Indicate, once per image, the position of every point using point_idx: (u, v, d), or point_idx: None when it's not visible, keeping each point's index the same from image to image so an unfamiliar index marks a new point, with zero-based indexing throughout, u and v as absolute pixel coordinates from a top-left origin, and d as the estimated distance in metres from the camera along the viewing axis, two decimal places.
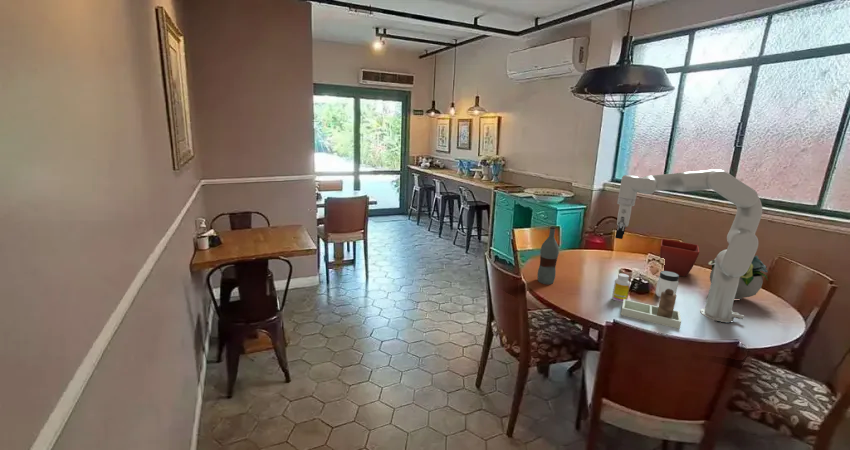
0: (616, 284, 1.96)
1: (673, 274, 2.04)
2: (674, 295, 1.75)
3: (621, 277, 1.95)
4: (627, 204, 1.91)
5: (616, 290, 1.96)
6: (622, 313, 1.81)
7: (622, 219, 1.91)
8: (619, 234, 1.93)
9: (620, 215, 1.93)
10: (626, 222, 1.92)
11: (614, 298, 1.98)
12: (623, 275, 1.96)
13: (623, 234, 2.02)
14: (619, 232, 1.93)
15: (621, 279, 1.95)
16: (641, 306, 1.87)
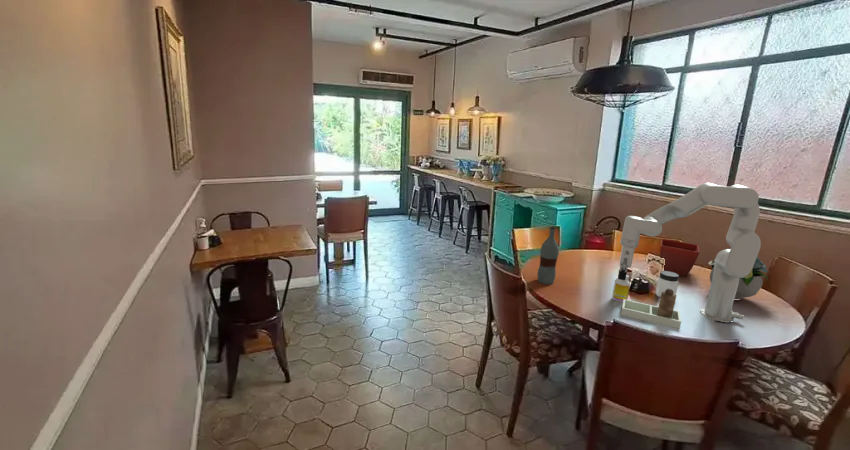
0: (616, 284, 1.96)
1: (673, 274, 2.04)
2: (674, 295, 1.75)
3: None
4: (630, 246, 1.89)
5: (616, 290, 1.97)
6: (622, 313, 1.81)
7: (625, 261, 1.89)
8: (622, 275, 1.91)
9: (623, 256, 1.90)
10: (629, 264, 1.89)
11: (614, 298, 1.98)
12: None
13: None
14: (622, 273, 1.91)
15: None
16: (641, 306, 1.87)
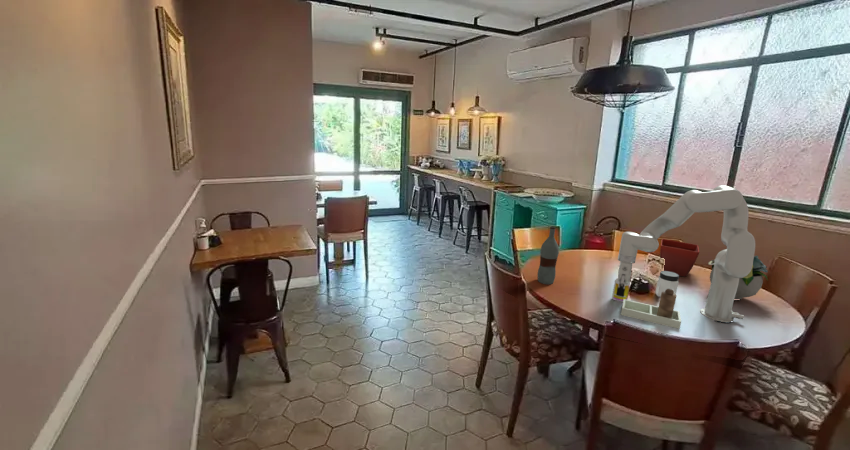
0: (616, 284, 1.96)
1: (673, 274, 2.04)
2: (674, 295, 1.75)
3: None
4: (628, 261, 1.91)
5: (616, 290, 1.96)
6: (622, 313, 1.81)
7: (623, 278, 1.91)
8: (620, 292, 1.94)
9: (621, 272, 1.92)
10: (627, 279, 1.91)
11: (614, 298, 1.98)
12: None
13: None
14: (620, 290, 1.94)
15: None
16: (641, 306, 1.87)
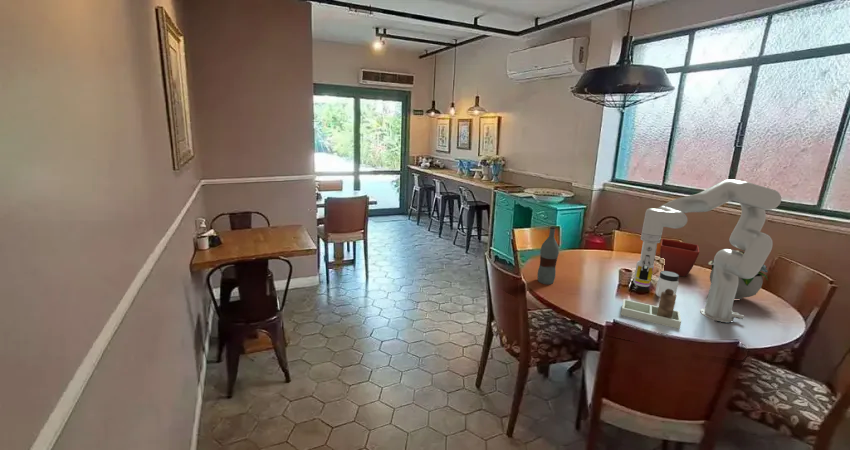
0: (638, 266, 1.77)
1: (673, 274, 2.04)
2: (674, 295, 1.75)
3: None
4: (652, 241, 1.72)
5: (638, 273, 1.78)
6: (622, 313, 1.81)
7: (647, 259, 1.72)
8: (643, 275, 1.75)
9: (644, 253, 1.73)
10: (651, 261, 1.72)
11: (636, 282, 1.79)
12: None
13: None
14: (643, 273, 1.75)
15: None
16: (641, 306, 1.87)
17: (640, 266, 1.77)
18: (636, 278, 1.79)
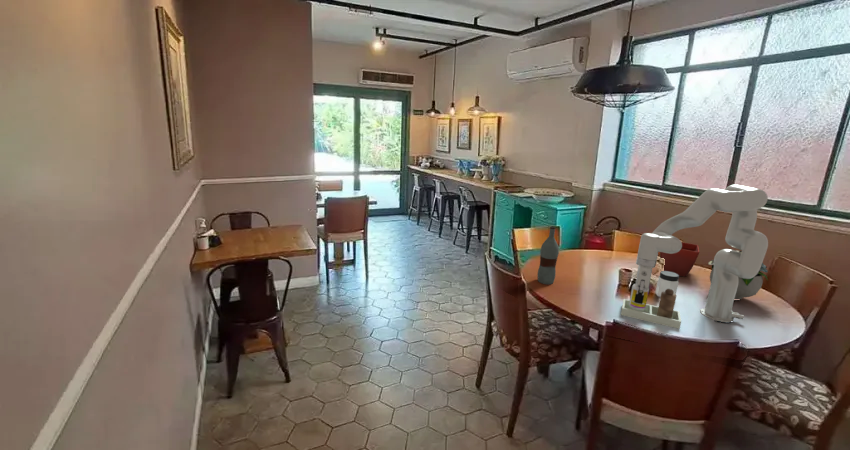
0: (634, 290, 1.80)
1: (673, 274, 2.04)
2: (674, 295, 1.75)
3: None
4: (647, 266, 1.74)
5: (634, 296, 1.80)
6: (622, 313, 1.81)
7: (642, 284, 1.75)
8: (639, 299, 1.78)
9: (639, 277, 1.76)
10: (647, 285, 1.75)
11: (631, 305, 1.81)
12: None
13: None
14: (639, 297, 1.77)
15: None
16: None
17: (635, 290, 1.79)
18: (631, 301, 1.81)
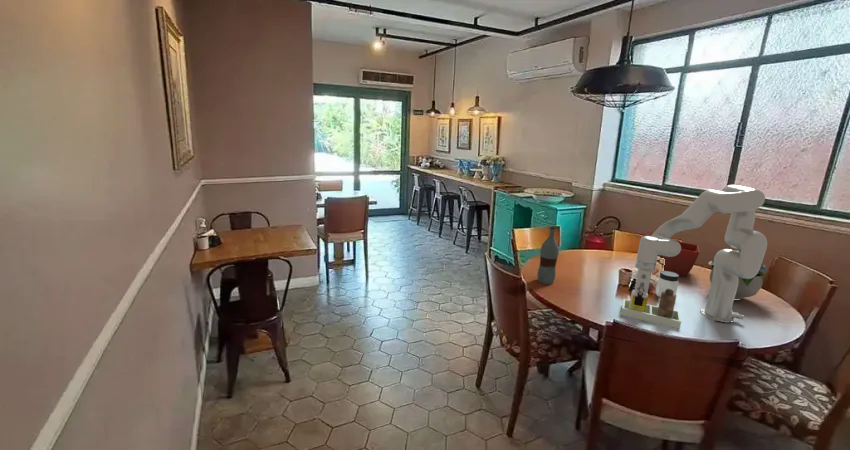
0: (633, 296, 1.81)
1: (673, 274, 2.04)
2: (674, 295, 1.75)
3: None
4: (647, 269, 1.75)
5: (633, 302, 1.81)
6: (622, 313, 1.81)
7: (642, 285, 1.75)
8: (638, 301, 1.77)
9: (639, 280, 1.76)
10: (646, 288, 1.75)
11: None
12: None
13: None
14: (638, 299, 1.77)
15: None
16: None
17: None
18: (631, 307, 1.82)
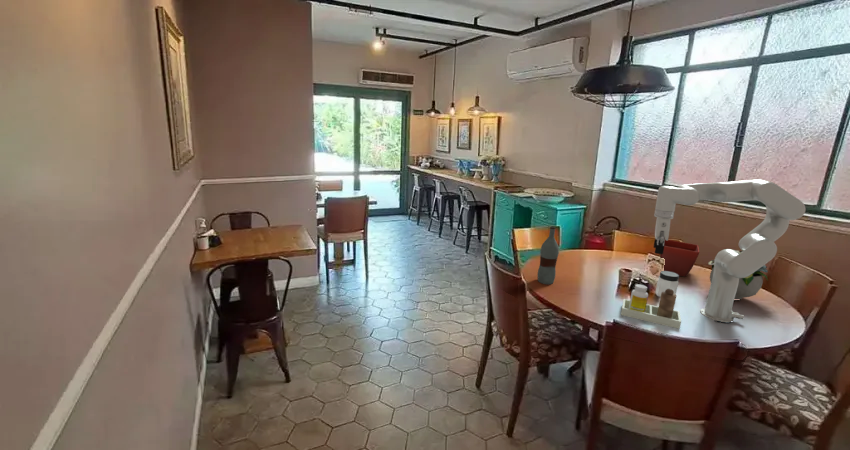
0: (633, 296, 1.81)
1: (673, 274, 2.04)
2: (674, 295, 1.75)
3: (639, 288, 1.79)
4: (666, 217, 1.79)
5: (633, 302, 1.81)
6: (622, 313, 1.81)
7: (662, 233, 1.79)
8: (659, 249, 1.81)
9: (659, 229, 1.81)
10: (666, 236, 1.80)
11: None
12: (641, 286, 1.80)
13: None
14: (659, 247, 1.81)
15: (639, 291, 1.80)
16: None
17: (635, 296, 1.80)
18: (631, 307, 1.82)
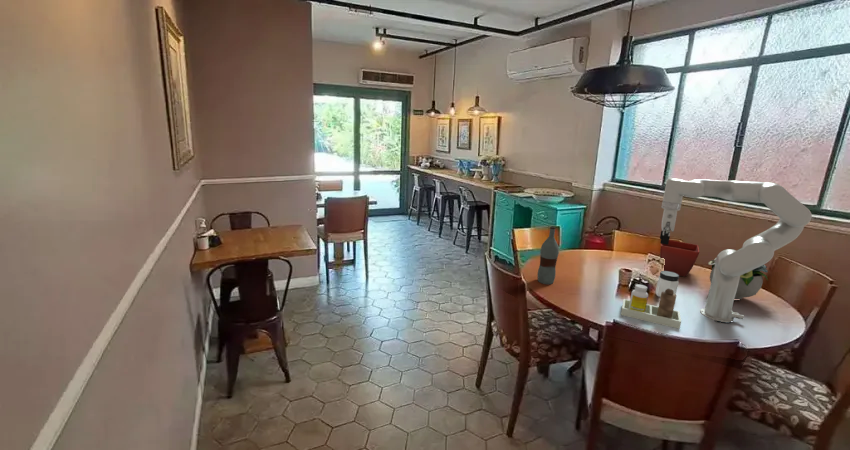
0: (633, 296, 1.81)
1: (673, 274, 2.04)
2: (674, 295, 1.75)
3: (639, 288, 1.79)
4: (673, 208, 1.85)
5: (633, 302, 1.81)
6: (622, 313, 1.81)
7: (668, 224, 1.85)
8: (665, 239, 1.87)
9: (665, 220, 1.87)
10: (672, 227, 1.85)
11: None
12: (641, 286, 1.80)
13: None
14: (665, 237, 1.87)
15: (639, 291, 1.80)
16: None
17: (635, 296, 1.80)
18: (631, 307, 1.82)
